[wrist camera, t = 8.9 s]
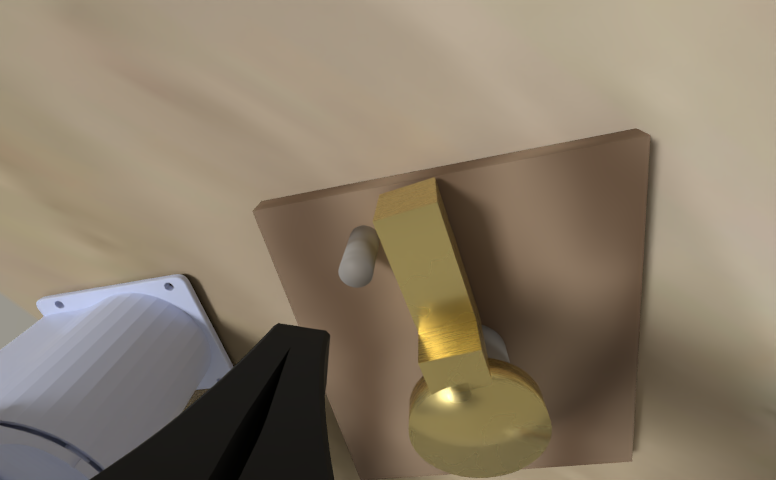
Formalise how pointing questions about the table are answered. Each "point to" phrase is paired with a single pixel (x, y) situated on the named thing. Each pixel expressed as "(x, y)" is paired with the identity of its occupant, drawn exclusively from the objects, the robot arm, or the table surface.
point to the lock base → (484, 292)
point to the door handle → (455, 350)
